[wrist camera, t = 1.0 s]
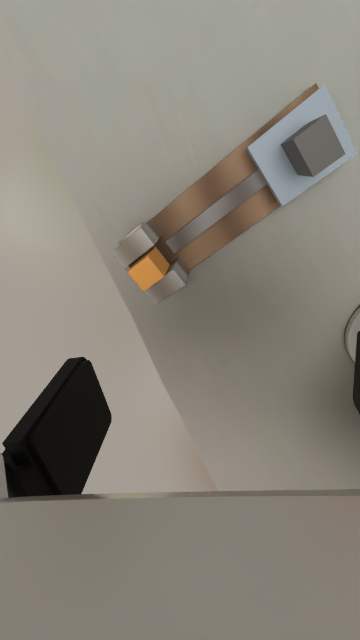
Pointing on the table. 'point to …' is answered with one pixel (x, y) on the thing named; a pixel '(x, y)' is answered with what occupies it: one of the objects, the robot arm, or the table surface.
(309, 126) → the carriage
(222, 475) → the table surface
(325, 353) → the table surface
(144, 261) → the button
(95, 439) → the robot arm
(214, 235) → the rail board
